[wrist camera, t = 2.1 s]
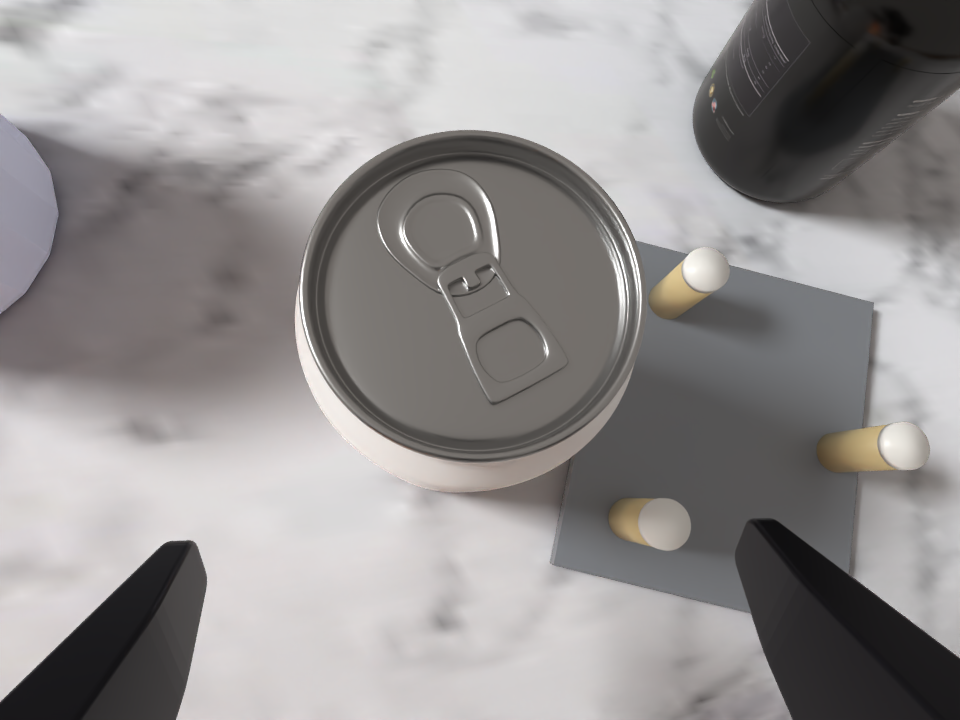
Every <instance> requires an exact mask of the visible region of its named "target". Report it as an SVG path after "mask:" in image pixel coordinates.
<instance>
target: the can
mask: <svg viewBox="0 0 960 720" xmlns="http://www.w3.org/2000/svg"><path fill="white" fill-rule="evenodd" d="M646 313H647V289H646V280H645V273H644V268H643V264H642V260H641V256H640V253H639V250H638V247H637V244H636V241H635V239H634V237H633V234H632V232H631V230H630V228H629V226H628V224H627V222H626V220H625V219H624V217H623V215H622V214H621V212H620V211H619V209H618V208H617V206H616V205H615V203H614V202H613V201H612V199H611V198H610V197H609V196H608V194H607V193H606V192H605V191H604V190H603V189H602V188H601V187H600V186H599V185H598V184H597V183H596V182H595V181H594V180H593V179H592V178H591V177H590V176H589V175H588V174H587V173H585V172H584V171H583V170H582V169H580V168H579V167H578V166H577V165H575V164H574V163H572V162H571V161H569V160H568V159H566V158H565V157H563V156H561V155H560V154H558V153H556V152H554V151H552V150H550V149H548V148H546V147H544V146H542V145H539V144H537V143H534V142H532V141H529V140H526V139H523V138H520V137H516V136H512V135H508V134H503V133H497V132H491V131H479V130H458V131H447V132H440V133H434V134H429V135H425V136H421V137H418V138H414V139H411V140H409V141H406V142H403V143H401V144H398V145H396V146H394V147H392V148H390V149H388V150H386V151H384V152H382V153H380V154H379V155H377V156H375V157H374V158H372V159H371V160H369V161H368V162H366V163H365V164H364V165H362V166H361V167H360V168H359V169H357V170H356V171H355V172H354V173H353V174H352V175H350V176H349V177H348V178H347V179H346V180H345V181H344V182H343V183H342V184H341V186H340V187H339V188H338V189H337V190H336V191H335V192H334V194H333V195H332V196H331V198H330V199H329V200H328V202H327V203H326V205H325V206H324V208H323V209H322V211H321V213H320V214H319V216H318V218H317V220H316V222H315V224H314V226H313V228H312V231H311V233H310V236H309V238H308V241H307V244H306V248H305V251H304V255H303V259H302V265H301V271H300V280H299V286H298V291H297V297H296V306H295V334H296V343H297V349H298V354H299V358H300V362H301V366H302V369H303V372H304V375H305V378H306V380H307V382H308V385H309V387H310V390H311V392H312V394H313V396H314V398H315V400H316V402H317V403H318V405H319V407H320V408H321V410H322V412H323V413H324V415H325V416H326V418H327V419H328V420H329V422H330V423H331V424H332V426H333V427H334V428H335V429H336V430H337V431H338V433H339V434H340V435H341V436H342V437H343V438H344V439H345V440H346V441H347V442H348V443H349V444H350V445H351V446H352V447H353V448H354V449H356V450H357V451H358V452H359V453H360V454H362V455H363V456H364V457H365V458H367V459H368V460H370V461H371V462H372V463H374V464H375V465H377V466H378V467H380V468H382V469H383V470H385V471H387V472H388V473H390V474H392V475H394V476H396V477H398V478H400V479H402V480H404V481H406V482H408V483H411V484H413V485H416V486H419V487H422V488H425V489H429V490H434V491H441V492H478V491H487V490H494V489H499V488H504V487H508V486H512V485H516V484H519V483H522V482H525V481H528V480H531V479H533V478H536V477H538V476H540V475H542V474H544V473H546V472H548V471H550V470H552V469H554V468H556V467H557V466H559V465H561V464H562V463H564V462H565V461H567V460H568V459H569V458H571V457H572V456H573V455H575V454H576V453H577V452H578V451H580V450H581V449H582V448H583V447H584V446H585V445H586V444H587V443H589V442H590V441H591V440H592V439H593V438H594V437H595V435H596V434H597V433H598V432H599V431H600V430H601V429H602V428H603V426H604V425H605V424H606V422H607V421H608V420H609V418H610V417H611V415H612V414H613V412H614V411H615V409H616V407H617V406H618V404H619V402H620V400H621V398H622V396H623V394H624V392H625V390H626V387H627V385H628V382H629V380H630V377H631V373H632V370H633V366H634V363H635V360H636V357H637V355H638V352H639V349H640V345H641V342H642V338H643V333H644V329H645V322H646Z"/></svg>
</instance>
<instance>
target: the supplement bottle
mask: <svg viewBox="0 0 960 720" xmlns="http://www.w3.org/2000/svg"><path fill="white" fill-rule="evenodd" d="M959 89H960V0H754V1H753V3H752V4H751V6H750V7H749V9H748V11H747V12H746V14H745V15H744V17H743V19H742V20H741V22H740V23H739V25H738V26H737V28H736V30H735V31H734V33H733V34H732V36H731V37H730V39H729V41H728V42H727V44H726V45H725V47H724V48H723V50H722V52H721V53H720V55H719V56H718V58H717V59H716V61H715V63H714V64H713V66H712V68H711V69H710V71H709V73H708V74H707V76H706V77H705V79H704V81H703V83H702V85H701V86H700V89H699V91H698V93H697V96H696V99H695V103H694V109H693V128H694V134H695V138H696V142H697V144H698V147H699V149H700V151H701V153H702V155H703V157H704V159H705V160H706V162H707V163H708V165H709V166H710V167H711V169H712V170H713V171H714V172H715V173H716V174H717V175H718V176H719V177H720V178H721V179H722V180H723V181H724V182H726V183H727V184H728V185H730V186H731V187H733V188H734V189H736V190H738V191H739V192H741V193H743V194H746V195H748V196H750V197H753V198H756V199H759V200H763V201H768V202H777V203H792V202H799V201H804V200H808V199H811V198H814V197H816V196H819V195H821V194H823V193H825V192H826V191H828V190H829V189H831V188H833V187H834V186H835V185H837V184H838V183H839V182H841V181H842V180H843V179H845V178H846V177H847V176H849V175H850V174H851V173H853V172H854V171H855V170H857V169H858V168H859V167H860V166H862V165H863V164H864V163H865V162H867V161H868V160H869V159H871V158H872V157H873V156H874V155H876V154H877V153H878V152H880V151H881V150H882V149H883V148H885V147H886V146H887V145H888V144H890V143H891V142H892V141H894V140H895V139H896V138H897V137H899V136H900V135H901V134H902V133H904V132H905V131H906V130H908V129H909V128H910V127H911V126H913V125H914V124H915V123H916V122H918V121H919V120H920V119H922V118H923V117H924V116H925V115H927V114H928V113H929V112H931V111H932V110H933V109H934V108H936V107H937V106H938V105H939V104H941V103H942V102H943V101H945V100H946V99H947V98H948V97H950V96H951V95H952V94H953V93H955V92H956V91H957V90H959Z"/></svg>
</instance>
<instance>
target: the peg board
mask: <svg viewBox="0 0 960 720" xmlns="http://www.w3.org/2000/svg"><path fill="white" fill-rule="evenodd" d="M636 244H637V247H638V250H639V253H640V256H641V260H642V264H643V268H644V273H645V280H646V289H647V313H646V322H645V329H644V333H643V338H642V342H641V345H640V349H639V352H638V355H637V357H636V360H635V363H634V366H633V370H632V373H631V377H630V380H629V382H628V385H627V387H626V390H625V392H624V394H623V396H622V398H621V400H620V402H619V404H618V406H617V407H616V409H615V411H614V412H613V414H612V415H611V417H610V418H609V420H608V421H607V422H606V424H605V425H604V426H603V428H602V429H601V430H600V431H599V432H598V433H597V434H596V435H595V437H594V438H593V439H592V440H591V441H590V442H589V443H587V444H586V445H585V446H584V447H583V448H582V449H581V450H580V451H578V452H577V453H576V454H575V455H573V456H572V457H571V461H570V466H569V471H568V476H567V481H566V486H565V491H564V496H563V500H562V505H561V510H560V515H559V520H558V525H557V530H556V535H555V540H554V545H553V550H552V555H551V560H550V563H551V564H552V565H555V566H559V567H563V568H567V569H571V570H576V571H580V572H584V573H588V574H592V575H596V576H600V577H604V578H608V579H613V580H617V581H621V582H625V583H629V584H633V585H637V586H641V587H645V588H649V589H654V590H658V591H662V592H666V593H670V594H674V595H678V596H682V597H686V598H690V599H695V600H699V601H703V602H707V603H711V604H715V605H719V606H723V607H727V608H731V609H736V610H740V611H744V612H748V613H751V611H750V608H749V605H748V602H747V599H746V596H745V592H744V589H743V586H742V583H741V580H740V577H739V574H738V570H737V567H736V564H735V549H736V546H737V544H738V541H739V539H740V536H741V534H742V531H743V529H744V526H745V524H746V522H747V521H748V520H750V519H752V518H773V519H775V520H777V521H779V522H780V523H782V524H783V525H784V526H786V527H787V528H788V529H789V530H791V531H792V532H793V533H795V534H796V535H797V536H799V537H800V538H801V539H803V540H804V541H805V542H807V543H808V544H809V545H811V546H812V547H813V548H815V549H816V550H817V551H819V552H820V553H821V554H823V555H824V556H825V557H827V558H828V559H829V560H830V561H832V562H833V563H834V564H836V565H837V566H838V567H840V568H841V569H842V570H844V571H845V572H846V573H848V574H849V568H850V557H851V546H852V535H853V524H854V513H855V502H856V491H857V481H858V472H863V471H884V470H915V469H918V468H920V467H922V466H923V465H924V464H925V463H926V461H927V460H928V457H929V453H930V446H929V442H928V439H927V437H926V435H925V434H924V432H923V431H922V430H921V429H920V428H919V427H917V426H916V425H914V424H912V423H909V422H898V423H892V424H888V425H882V426H875V427H868V428H862V426H863V415H864V404H865V393H866V382H867V371H868V360H869V349H870V338H871V327H872V316H873V305H874V303H873V302H869V301H865V300H861V299H857V298H853V297H850V296H846V295H842V294H838V293H834V292H830V291H827V290H823V289H819V288H815V287H811V286H807V285H804V284H800V283H796V282H792V281H788V280H784V279H781V278H777V277H773V276H769V275H765V274H761V273H758V272H754V271H750V270H746V269H742V268H738V267H735V266H731V265H729V264H728V262H727V260H726V258H725V257H724V256H723V255H722V254H721V253H720V252H719V251H717V250H715V249H713V248H709V247H701V248H697V249H695V250H693V251H692V252H691V253H690V254H685V253H681V252H677V251H673V250H669V249H666V248H662V247H658V246H654V245H650V244H646V243H643V242H639V241H636Z"/></svg>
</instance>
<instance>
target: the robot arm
mask: <svg viewBox="0 0 960 720" xmlns="http://www.w3.org/2000/svg"><path fill="white" fill-rule="evenodd" d="M735 564H736V567H737V570H738V574H739V577H740V580H741V583H742V586H743V589H744V592H745V596H746V599H747V602H748V605H749V608H750V611H751V615H752V618H753V621H754V624H755V627H756V630H757V633H758V637H759V640H760V642H761V645H762V648H763V651H764V654H765V656H766V658H767V661H768V663H769V666H770V668H771V671H772V673H773V675H774V677H775V680H776V682H777V684H778V687H779V689H780V691H781V694H782V696H783V698H784V701H785V703H786V705H787V707H788V710H789V712H790V714H791V717H792V719H793V720H960V658H959V657H957V656H956V655H955V654H953V653H952V652H951V651H950V650H948V649H947V648H946V647H944V646H943V645H942V644H940V643H939V642H938V641H936V640H935V639H934V638H932V637H931V636H930V635H928V634H927V633H926V632H924V631H923V630H922V629H920V628H919V627H918V626H916V625H915V624H914V623H912V622H911V621H910V620H909V619H907V618H906V617H905V616H903V615H902V614H901V613H899V612H898V611H897V610H895V609H894V608H893V607H891V606H890V605H889V604H887V603H886V602H885V601H883V600H882V599H881V598H879V597H878V596H877V595H875V594H874V593H873V592H871V591H870V590H869V589H868V588H866V587H865V586H864V585H862V584H861V583H860V582H858V581H857V580H856V579H854V578H853V577H852V576H850V575H849V574H848V573H846V572H845V571H844V570H842V569H841V568H840V567H838V566H837V565H836V564H834V563H833V562H832V561H830V560H829V559H828V558H827V557H825V556H824V555H823V554H821V553H820V552H819V551H817V550H816V549H815V548H813V547H812V546H811V545H809V544H808V543H807V542H805V541H804V540H803V539H801V538H800V537H799V536H797V535H796V534H795V533H793V532H792V531H791V530H789V529H788V528H787V527H786V526H784V525H783V524H782V523H780V522H779V521H777V520H775V519H773V518H752V519H750V520H748V521H747V522H746V524H745V526H744V529H743V531H742V534H741V536H740V539H739V541H738V544H737V546H736V549H735ZM206 587H207V575H206V571H205V568H204V565H203V562H202V559H201V556H200V553H199V550H198V547H197V545H196V543H195V542H193V541H190V540H187V541H170V542H166V543H165V544H163V545H162V546H161V547H160V548H159V549H158V550H157V551H156V552H155V553H154V554H152V555H151V556H150V557H149V558H148V559H147V560H146V561H145V562H144V563H143V564H142V565H141V566H140V567H139V568H138V569H137V570H136V571H135V572H134V573H133V574H132V575H131V576H130V577H129V578H128V579H127V580H126V581H125V582H124V583H123V584H121V585H120V586H119V587H118V588H117V589H116V590H115V591H114V592H113V593H112V594H111V595H110V596H109V597H108V598H107V599H106V600H105V601H104V602H103V603H102V604H101V605H100V606H99V607H98V608H97V609H96V610H95V611H94V612H93V613H92V614H91V615H89V616H88V617H87V618H86V619H85V620H84V621H83V622H82V623H81V624H80V625H79V626H78V627H77V628H76V629H75V630H74V631H73V632H72V633H71V634H70V635H69V636H68V637H67V638H66V639H65V640H64V641H63V642H62V643H61V644H60V645H58V646H57V647H56V648H55V649H54V650H53V651H52V652H51V653H50V654H49V655H48V656H47V657H46V658H45V659H44V660H43V661H42V662H41V663H40V664H39V665H38V666H37V667H36V668H35V669H34V670H33V671H32V672H31V673H30V674H29V675H27V676H26V677H25V678H24V679H23V680H22V681H21V682H20V683H19V684H18V685H17V686H16V687H15V688H14V689H13V690H12V691H11V692H10V693H9V694H8V695H7V696H6V697H5V698H4V699H3V700H2V701H1V702H0V720H176V718H177V715H178V712H179V708H180V705H181V702H182V699H183V695H184V692H185V688H186V684H187V680H188V676H189V671H190V666H191V662H192V657H193V652H194V647H195V642H196V637H197V632H198V627H199V622H200V617H201V612H202V607H203V602H204V597H205V592H206Z"/></svg>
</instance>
